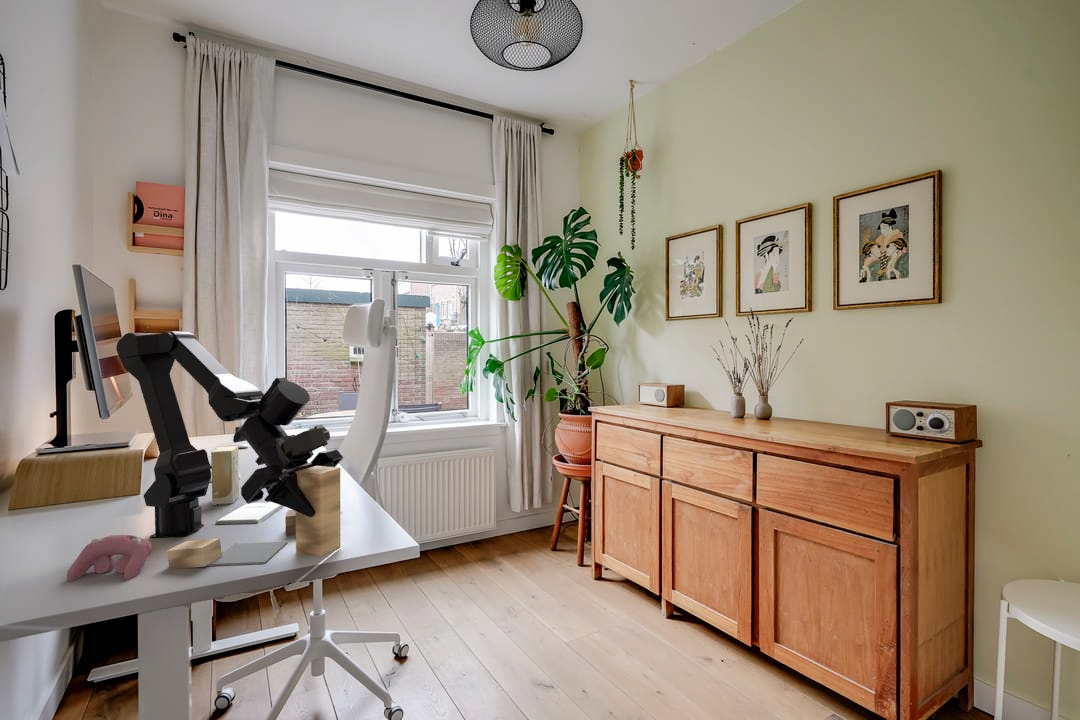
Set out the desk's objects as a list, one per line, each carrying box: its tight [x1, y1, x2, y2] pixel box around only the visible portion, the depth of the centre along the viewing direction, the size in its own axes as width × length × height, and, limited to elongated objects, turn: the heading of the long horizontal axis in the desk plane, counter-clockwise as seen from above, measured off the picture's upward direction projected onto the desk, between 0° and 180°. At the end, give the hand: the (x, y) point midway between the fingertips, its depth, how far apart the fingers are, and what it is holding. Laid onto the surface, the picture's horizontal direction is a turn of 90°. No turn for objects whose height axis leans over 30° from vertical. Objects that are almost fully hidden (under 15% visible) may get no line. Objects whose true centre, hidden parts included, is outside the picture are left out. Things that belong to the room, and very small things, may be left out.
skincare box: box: [210, 445, 240, 506], centre depth 122 cm, size 6×4×12 cm
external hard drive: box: [215, 501, 285, 525], centre depth 111 cm, size 2×8×12 cm
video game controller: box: [66, 534, 153, 582], centre depth 82 cm, size 10×5×7 cm, turn 92°
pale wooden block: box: [166, 538, 223, 569], centre depth 86 cm, size 6×4×3 cm, turn 84°
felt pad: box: [206, 541, 288, 567], centre depth 89 cm, size 9×9×1 cm
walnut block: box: [284, 509, 296, 537], centre depth 101 cm, size 4×4×4 cm
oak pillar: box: [295, 466, 341, 557], centre depth 91 cm, size 5×5×14 cm
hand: (324, 510), depth 91 cm, fingers closed on oak pillar, 5 cm apart
